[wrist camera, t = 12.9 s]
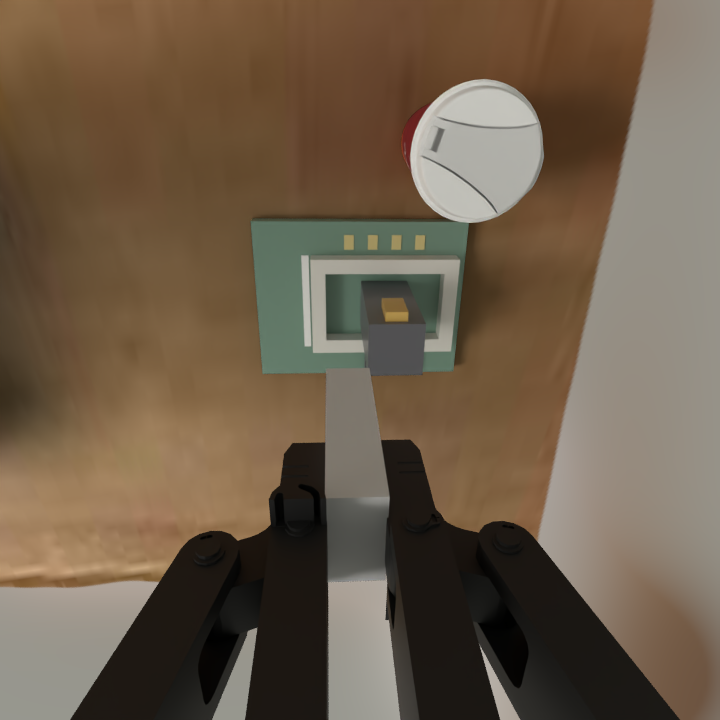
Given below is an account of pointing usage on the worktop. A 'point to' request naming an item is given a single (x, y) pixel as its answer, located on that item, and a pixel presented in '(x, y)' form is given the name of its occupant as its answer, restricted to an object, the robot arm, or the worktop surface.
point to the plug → (391, 328)
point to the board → (351, 286)
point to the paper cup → (474, 150)
